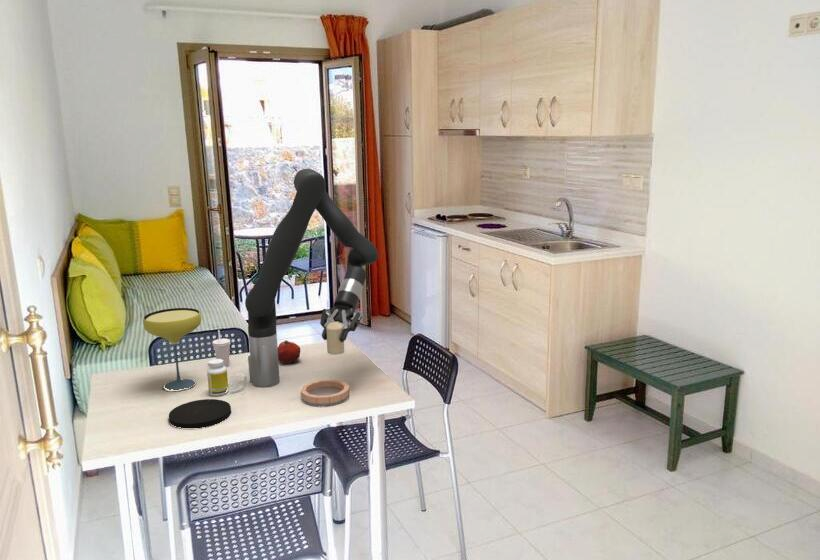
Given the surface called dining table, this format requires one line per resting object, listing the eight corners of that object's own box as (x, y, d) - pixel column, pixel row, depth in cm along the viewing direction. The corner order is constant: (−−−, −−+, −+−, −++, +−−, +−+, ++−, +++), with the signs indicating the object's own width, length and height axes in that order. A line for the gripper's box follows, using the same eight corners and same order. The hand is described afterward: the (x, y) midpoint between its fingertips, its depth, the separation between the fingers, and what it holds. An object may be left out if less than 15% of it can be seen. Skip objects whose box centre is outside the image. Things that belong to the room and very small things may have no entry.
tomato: (293, 356, 245) (292, 336, 243) (306, 362, 238) (304, 341, 237) (271, 361, 239) (270, 341, 238) (283, 368, 232) (282, 346, 231)
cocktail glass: (138, 392, 212) (130, 320, 206) (174, 374, 229) (167, 306, 223) (184, 398, 206) (176, 324, 201) (217, 379, 223) (211, 309, 217)
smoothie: (214, 364, 238) (211, 328, 234) (232, 362, 239) (229, 326, 236) (214, 370, 232) (211, 333, 229) (233, 368, 233) (229, 331, 230)
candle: (341, 355, 205) (340, 325, 203) (325, 354, 206) (323, 324, 204) (346, 349, 210) (345, 320, 208) (330, 348, 211) (329, 319, 209)
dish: (292, 401, 202) (291, 392, 202) (320, 385, 215) (319, 376, 214) (331, 409, 195) (331, 400, 195) (357, 392, 208) (357, 383, 208)
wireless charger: (242, 416, 193) (241, 410, 192) (185, 435, 181) (185, 429, 180) (213, 400, 205) (213, 394, 205) (159, 417, 193) (158, 411, 193)
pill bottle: (232, 391, 211) (230, 359, 209) (218, 398, 206) (215, 365, 204) (219, 388, 215) (216, 356, 212) (205, 394, 209) (202, 362, 207)
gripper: (325, 287, 213) (308, 331, 205) (364, 291, 208) (348, 336, 200) (333, 299, 219) (317, 342, 211) (371, 303, 214) (356, 347, 206)
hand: (332, 339), depth 206 cm, fingers closed on candle, 5 cm apart
